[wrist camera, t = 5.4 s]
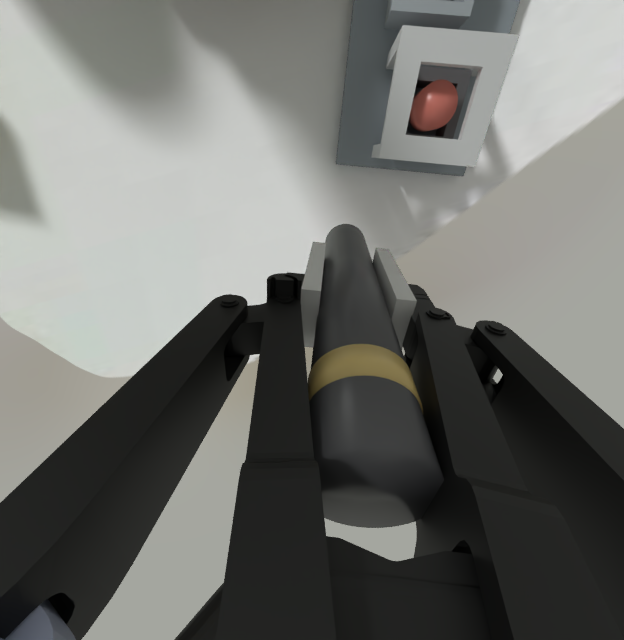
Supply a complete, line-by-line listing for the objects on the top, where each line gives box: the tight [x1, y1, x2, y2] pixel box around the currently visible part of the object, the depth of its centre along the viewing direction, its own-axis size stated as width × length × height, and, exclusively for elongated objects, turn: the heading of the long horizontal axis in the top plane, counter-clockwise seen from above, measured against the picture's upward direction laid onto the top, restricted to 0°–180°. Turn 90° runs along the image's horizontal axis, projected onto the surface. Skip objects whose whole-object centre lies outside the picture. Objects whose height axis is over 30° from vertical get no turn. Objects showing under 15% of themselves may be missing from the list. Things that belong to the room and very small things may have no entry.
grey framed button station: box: [336, 0, 520, 176], centre depth 25 cm, size 19×15×8 cm
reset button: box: [409, 79, 458, 132], centre depth 27 cm, size 4×4×3 cm
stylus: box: [308, 224, 444, 528], centre depth 13 cm, size 3×3×18 cm
